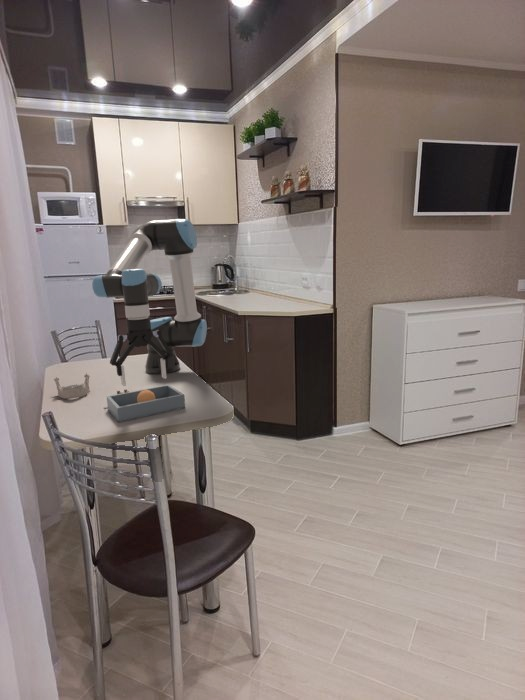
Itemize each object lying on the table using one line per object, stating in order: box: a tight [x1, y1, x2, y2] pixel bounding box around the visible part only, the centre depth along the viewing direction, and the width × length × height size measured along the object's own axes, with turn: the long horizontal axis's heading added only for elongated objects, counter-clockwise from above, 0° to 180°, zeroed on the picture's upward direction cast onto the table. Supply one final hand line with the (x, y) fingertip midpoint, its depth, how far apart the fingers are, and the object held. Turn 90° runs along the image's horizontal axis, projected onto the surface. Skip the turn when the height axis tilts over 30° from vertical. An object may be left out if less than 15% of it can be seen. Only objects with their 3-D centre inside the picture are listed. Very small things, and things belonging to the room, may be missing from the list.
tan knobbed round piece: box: [116, 388, 130, 394], centre depth 164 cm, size 4×4×3 cm
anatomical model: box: [53, 373, 91, 400], centre depth 172 cm, size 13×11×10 cm
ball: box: [137, 390, 156, 403], centre depth 153 cm, size 6×6×6 cm
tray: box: [106, 384, 186, 423], centre depth 154 cm, size 22×15×5 cm
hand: (144, 381), depth 151 cm, fingers open, 13 cm apart
